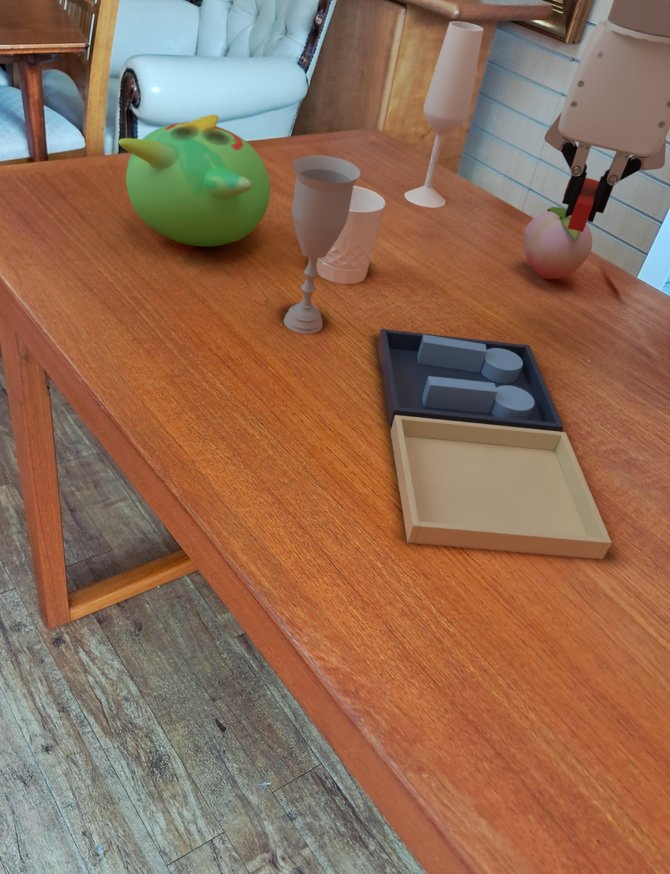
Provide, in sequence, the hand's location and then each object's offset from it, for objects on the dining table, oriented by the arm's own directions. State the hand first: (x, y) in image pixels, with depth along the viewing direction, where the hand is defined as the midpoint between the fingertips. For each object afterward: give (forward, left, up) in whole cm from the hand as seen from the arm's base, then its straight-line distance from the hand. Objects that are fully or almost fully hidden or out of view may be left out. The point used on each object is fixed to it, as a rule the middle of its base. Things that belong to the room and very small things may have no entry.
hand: (580, 213), depth 83 cm
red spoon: (-1, -2, -1) cm, 3 cm away
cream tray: (+10, +28, -16) cm, 34 cm away
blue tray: (+10, +12, -16) cm, 23 cm away
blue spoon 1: (+9, +7, -16) cm, 19 cm away
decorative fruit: (-7, -19, -17) cm, 26 cm away
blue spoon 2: (+9, +15, -16) cm, 23 cm away
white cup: (+22, -13, -17) cm, 31 cm away
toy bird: (+41, -18, -17) cm, 48 cm away
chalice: (+27, +1, -17) cm, 32 cm away
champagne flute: (+7, -42, -17) cm, 46 cm away
